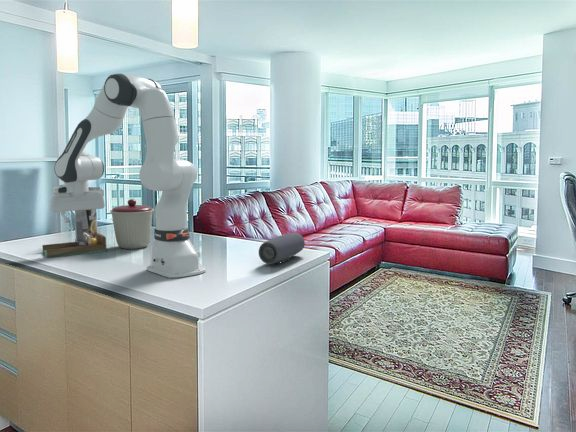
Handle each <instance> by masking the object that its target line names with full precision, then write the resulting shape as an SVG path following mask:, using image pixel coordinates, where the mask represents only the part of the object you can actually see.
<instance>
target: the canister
mask: <svg viewBox="0 0 576 432" xmlns="http://www.w3.org/2000/svg"><path fill="white" fill-rule="evenodd" d="M109 212H110V213H111V219H112V223H113V230H114V231H113V232H114V235H115V240H116V241H115V242H116V244H117V246H118V247H119V248H121V249H125V250H136V249H137V250H138V249H143V248H145V247H147V246H149V244H150V242H151V235H152V233H151V232H152V224H153V223H152V221H153V212H155V208H152V207H151V206H148V205H143V204H137V200H136V199H134V198H130V199H128V200H127V204H126V205H118V206H115V207H113V208H112V209H110V210H109Z"/></svg>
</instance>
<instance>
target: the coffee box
mask: <svg viewBox="0 0 576 432" xmlns="http://www.w3.org/2000/svg"><path fill="white" fill-rule="evenodd" d="M97 212H98V211H96V213H95V215H94V220H89V216H91V214H92V211H91V209H90V210H77V211H74V217H75V218H74V219H75V220H74V222H75V221H82V226H83V233H87V234H88V235H90V236H91V238H95V239H96V233H99V232H98V218H97V216H98V215H97ZM83 235H84V234H83ZM83 241H84V238H83ZM87 241H88V237H87Z"/></svg>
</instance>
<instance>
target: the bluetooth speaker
mask: <svg viewBox="0 0 576 432" xmlns="http://www.w3.org/2000/svg"><path fill="white" fill-rule="evenodd" d="M305 244H306V243H305V239H304V237H303V235H302V234H300V233H299V232H289V233H284V234H282V235H279V236H276V237H275V236H274V237H273V238H271V239H267V240H266V241H264V242H262V243H261V244H260V246H259V249H258V257H259V259H260V260H261V262H262V263H264V264H266V265H267V264H268V265H271V264H275V263H280V262H283V261H286V260H288V259H290V258H291V259H292V257H293V256H296V255H297V254H299V253H300V252H302V251H303V249H304V248H305ZM291 259H290V260H291ZM288 261H289V260H288ZM286 262H287V261H286Z"/></svg>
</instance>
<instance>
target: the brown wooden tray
mask: <svg viewBox="0 0 576 432" xmlns="http://www.w3.org/2000/svg"><path fill="white" fill-rule="evenodd" d="M83 234H84V235H83V238H84V243H85V246H79V247H75V241H70V242H62V243H61V242H60V243H51V244H42V254H44V256H45V257H46V258H47V259H50V258H51V259H52V258H59V257H67V256H68V257H69V256H76V255H84V254H93V253H100V252H101V253H102V252H107V240H106V239H107V238H106V236H105V235H103V234H101V233H100V232H98V233H96V239H97V241H98V244H97V245H91V236H90V235H88V234H87V233H83ZM87 237H88V241H87Z"/></svg>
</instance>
